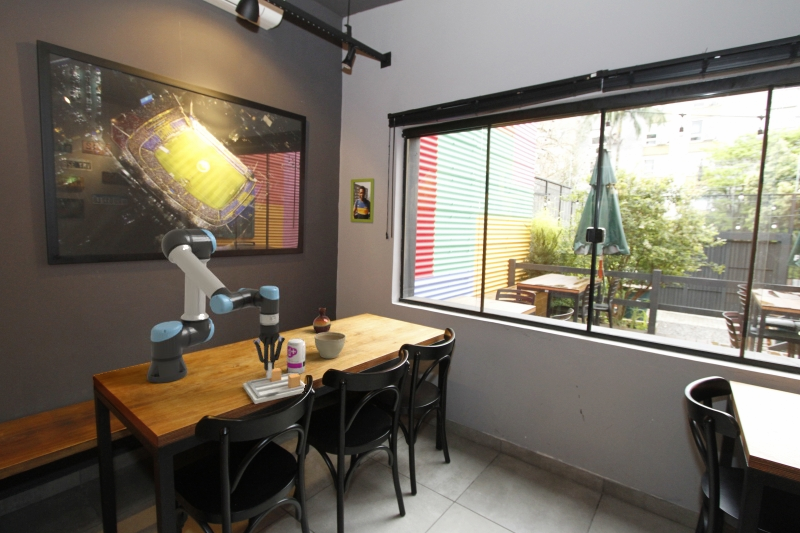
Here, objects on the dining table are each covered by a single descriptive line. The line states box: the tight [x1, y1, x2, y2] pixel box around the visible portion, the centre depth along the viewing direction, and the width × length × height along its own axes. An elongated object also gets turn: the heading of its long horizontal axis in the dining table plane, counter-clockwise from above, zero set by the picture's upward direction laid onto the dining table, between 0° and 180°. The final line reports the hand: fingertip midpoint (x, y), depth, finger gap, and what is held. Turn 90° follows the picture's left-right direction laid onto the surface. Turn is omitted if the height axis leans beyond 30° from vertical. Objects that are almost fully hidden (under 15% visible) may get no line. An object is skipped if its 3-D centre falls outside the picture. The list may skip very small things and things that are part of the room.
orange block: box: [269, 367, 282, 382], centre depth 166 cm, size 4×3×5 cm
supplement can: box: [286, 338, 306, 375], centre depth 180 cm, size 8×8×15 cm
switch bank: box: [242, 372, 306, 405], centre depth 162 cm, size 22×18×2 cm
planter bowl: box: [314, 331, 346, 359], centre depth 204 cm, size 16×16×11 cm
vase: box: [312, 307, 332, 334], centre depth 247 cm, size 11×11×15 cm
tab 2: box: [288, 373, 301, 388], centre depth 161 cm, size 4×3×5 cm
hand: (269, 376), depth 164 cm, fingers closed
